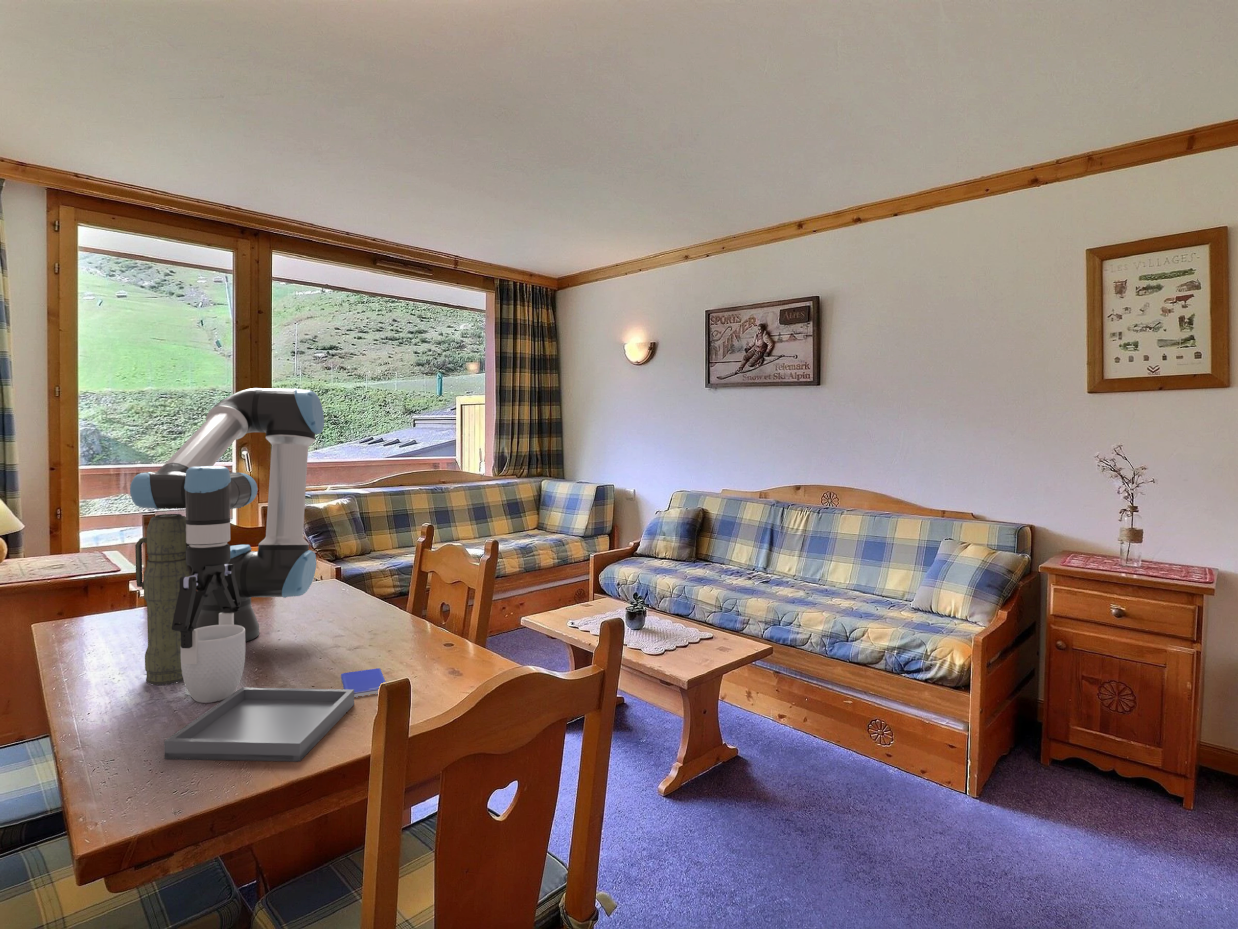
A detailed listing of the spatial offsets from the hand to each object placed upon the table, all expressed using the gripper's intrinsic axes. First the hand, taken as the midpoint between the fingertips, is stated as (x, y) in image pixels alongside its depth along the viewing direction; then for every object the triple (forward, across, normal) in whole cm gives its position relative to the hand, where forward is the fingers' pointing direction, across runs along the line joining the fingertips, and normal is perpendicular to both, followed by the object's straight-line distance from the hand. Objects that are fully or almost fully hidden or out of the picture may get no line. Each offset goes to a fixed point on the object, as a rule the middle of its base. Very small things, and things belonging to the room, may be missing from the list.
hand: (209, 653), depth 130 cm
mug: (+9, 0, 0) cm, 9 cm away
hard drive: (+9, -8, +28) cm, 31 cm away
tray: (+9, +14, +19) cm, 25 cm away
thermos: (+9, -10, -14) cm, 19 cm away
